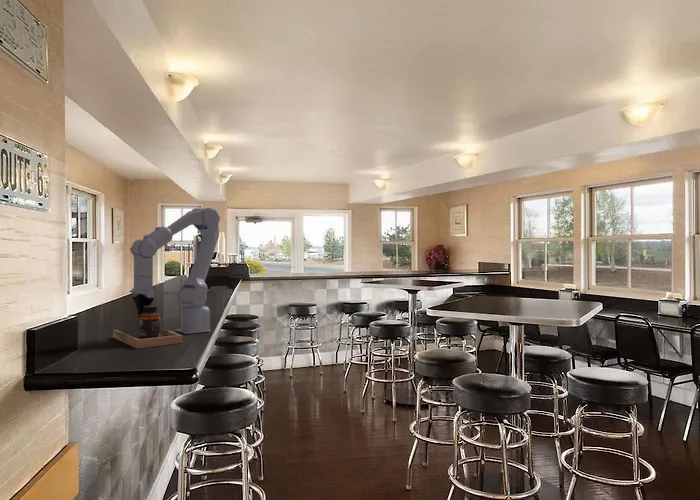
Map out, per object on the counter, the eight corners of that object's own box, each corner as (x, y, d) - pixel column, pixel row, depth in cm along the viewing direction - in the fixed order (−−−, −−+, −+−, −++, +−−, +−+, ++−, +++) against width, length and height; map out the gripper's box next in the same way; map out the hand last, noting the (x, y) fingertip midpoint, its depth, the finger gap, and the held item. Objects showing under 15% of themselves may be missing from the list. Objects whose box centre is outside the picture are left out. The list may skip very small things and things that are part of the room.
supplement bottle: (163, 340, 164) (164, 305, 164) (153, 344, 158) (154, 307, 158) (146, 339, 165) (146, 304, 165) (135, 343, 159) (136, 306, 159)
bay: (155, 333, 176) (156, 326, 176) (182, 343, 161) (182, 335, 160) (113, 337, 167) (113, 329, 167) (136, 348, 151) (137, 340, 151)
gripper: (122, 275, 169) (122, 316, 170) (138, 278, 159) (138, 322, 159) (144, 274, 174) (144, 314, 174) (161, 277, 163) (161, 320, 164)
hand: (142, 318), depth 167 cm, fingers closed
